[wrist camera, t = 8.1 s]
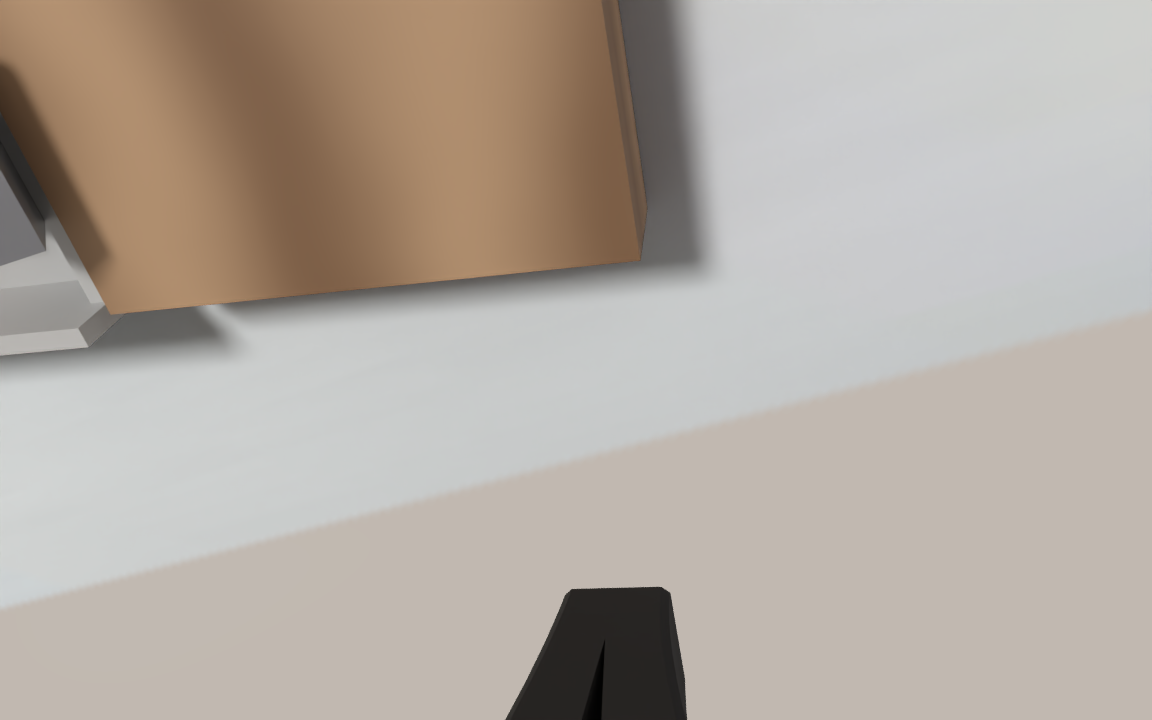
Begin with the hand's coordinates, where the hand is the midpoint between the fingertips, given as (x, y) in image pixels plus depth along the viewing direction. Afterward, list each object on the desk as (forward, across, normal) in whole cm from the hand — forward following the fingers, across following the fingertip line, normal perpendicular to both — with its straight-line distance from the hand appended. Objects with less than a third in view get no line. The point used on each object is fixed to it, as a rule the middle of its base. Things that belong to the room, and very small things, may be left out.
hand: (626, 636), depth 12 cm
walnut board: (+10, +6, -6) cm, 13 cm away
